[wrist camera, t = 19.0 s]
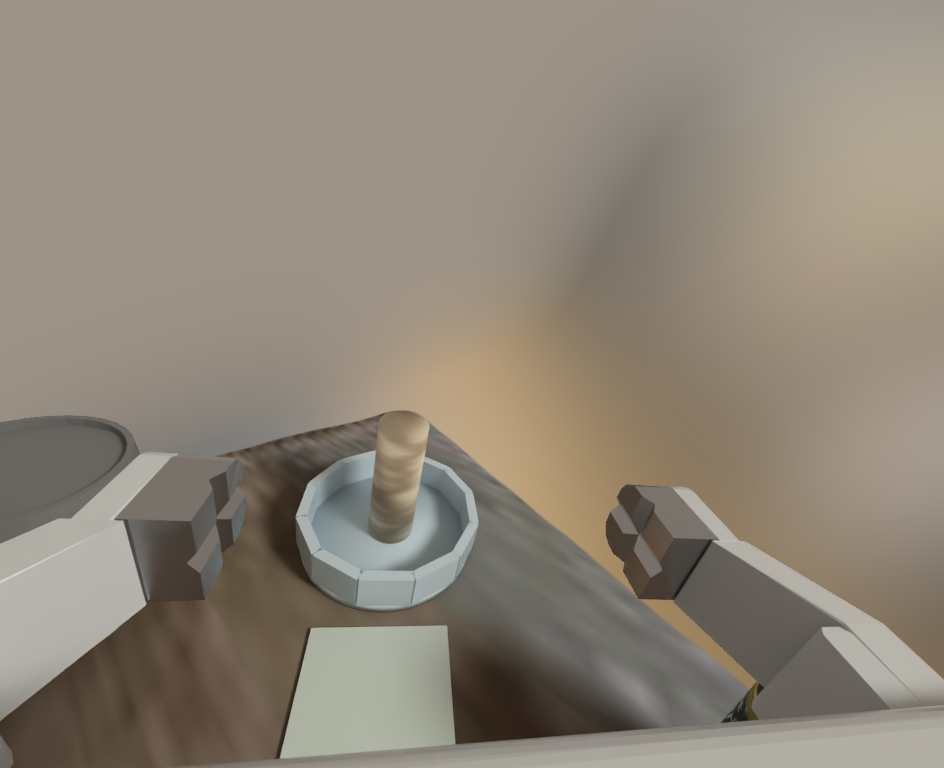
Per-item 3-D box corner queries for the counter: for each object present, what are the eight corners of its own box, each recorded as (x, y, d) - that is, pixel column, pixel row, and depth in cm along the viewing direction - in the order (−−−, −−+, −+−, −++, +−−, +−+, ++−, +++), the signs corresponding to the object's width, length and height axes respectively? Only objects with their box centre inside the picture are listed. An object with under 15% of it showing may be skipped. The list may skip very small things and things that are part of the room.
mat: (261, 837, 22) (261, 835, 22) (311, 629, 33) (311, 627, 33) (459, 813, 25) (460, 812, 25) (446, 627, 35) (447, 625, 35)
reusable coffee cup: (177, 632, 31) (145, 492, 25) (-82, 749, 23) (-231, 586, 16) (162, 527, 39) (135, 402, 33) (-34, 586, 31) (-120, 435, 25)
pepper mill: (365, 543, 41) (376, 436, 35) (370, 508, 45) (380, 408, 39) (411, 544, 42) (430, 440, 36) (412, 510, 46) (428, 413, 40)
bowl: (273, 613, 34) (272, 579, 32) (321, 473, 50) (322, 445, 48) (480, 611, 37) (489, 581, 35) (460, 481, 54) (465, 456, 52)
